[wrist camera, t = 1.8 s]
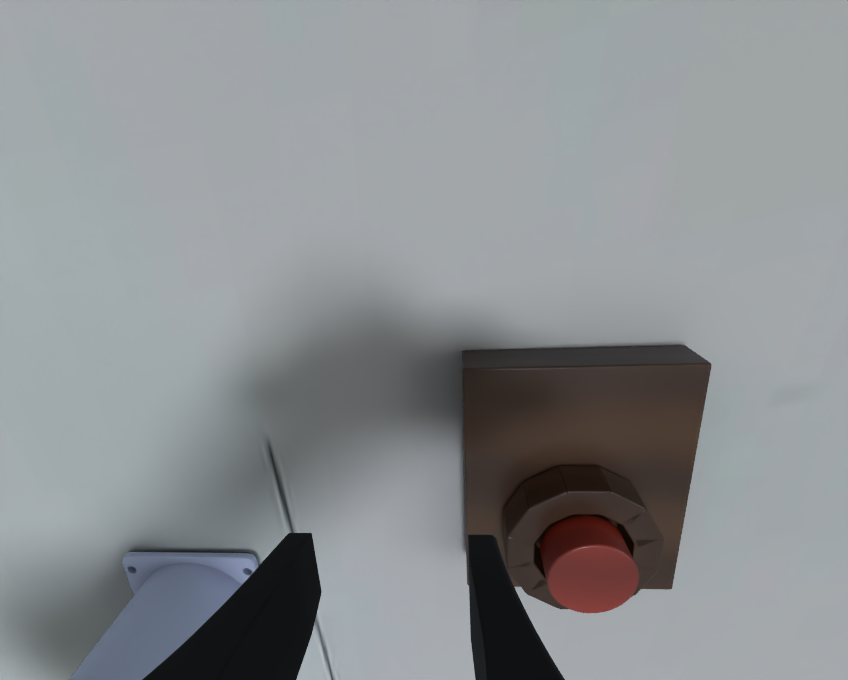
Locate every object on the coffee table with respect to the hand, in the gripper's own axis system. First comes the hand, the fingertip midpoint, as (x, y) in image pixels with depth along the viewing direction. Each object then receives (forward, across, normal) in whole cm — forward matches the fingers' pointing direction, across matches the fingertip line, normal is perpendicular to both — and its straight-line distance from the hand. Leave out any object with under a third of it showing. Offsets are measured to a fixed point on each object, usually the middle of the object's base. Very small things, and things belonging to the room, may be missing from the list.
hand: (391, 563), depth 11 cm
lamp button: (+7, -7, +6) cm, 11 cm away
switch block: (+10, -7, +4) cm, 13 cm away
